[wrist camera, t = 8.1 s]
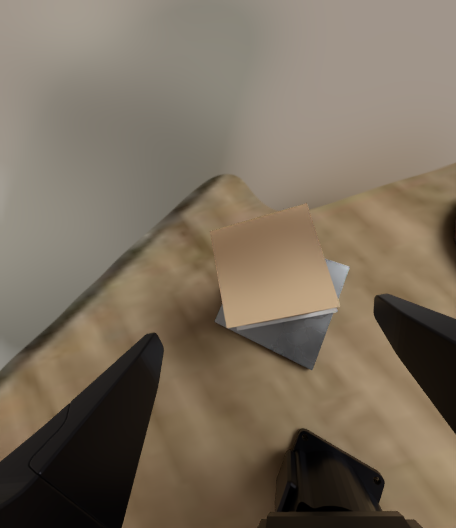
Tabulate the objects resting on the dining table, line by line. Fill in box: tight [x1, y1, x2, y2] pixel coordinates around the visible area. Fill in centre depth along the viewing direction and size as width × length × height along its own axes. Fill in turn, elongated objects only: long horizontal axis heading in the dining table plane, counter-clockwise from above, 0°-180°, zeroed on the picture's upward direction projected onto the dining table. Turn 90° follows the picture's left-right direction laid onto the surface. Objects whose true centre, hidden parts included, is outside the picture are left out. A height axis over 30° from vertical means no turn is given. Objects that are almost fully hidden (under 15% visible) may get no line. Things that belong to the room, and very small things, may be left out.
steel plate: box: [215, 259, 350, 370], centre depth 22 cm, size 10×10×1 cm
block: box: [210, 203, 340, 331], centre depth 15 cm, size 5×9×13 cm, turn 101°
